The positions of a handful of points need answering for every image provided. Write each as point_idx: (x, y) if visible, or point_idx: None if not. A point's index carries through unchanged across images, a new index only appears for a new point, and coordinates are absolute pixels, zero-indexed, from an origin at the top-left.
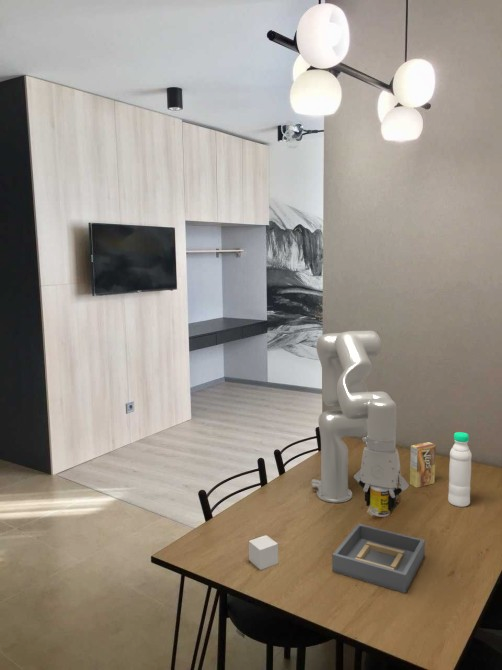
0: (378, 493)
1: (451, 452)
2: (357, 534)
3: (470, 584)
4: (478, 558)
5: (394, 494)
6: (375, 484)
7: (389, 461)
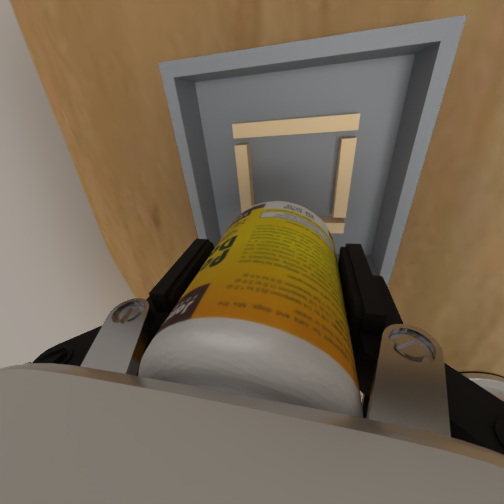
0: (226, 296)
1: None
2: (379, 249)
3: (114, 197)
4: (148, 280)
5: (105, 322)
6: (235, 427)
7: None
